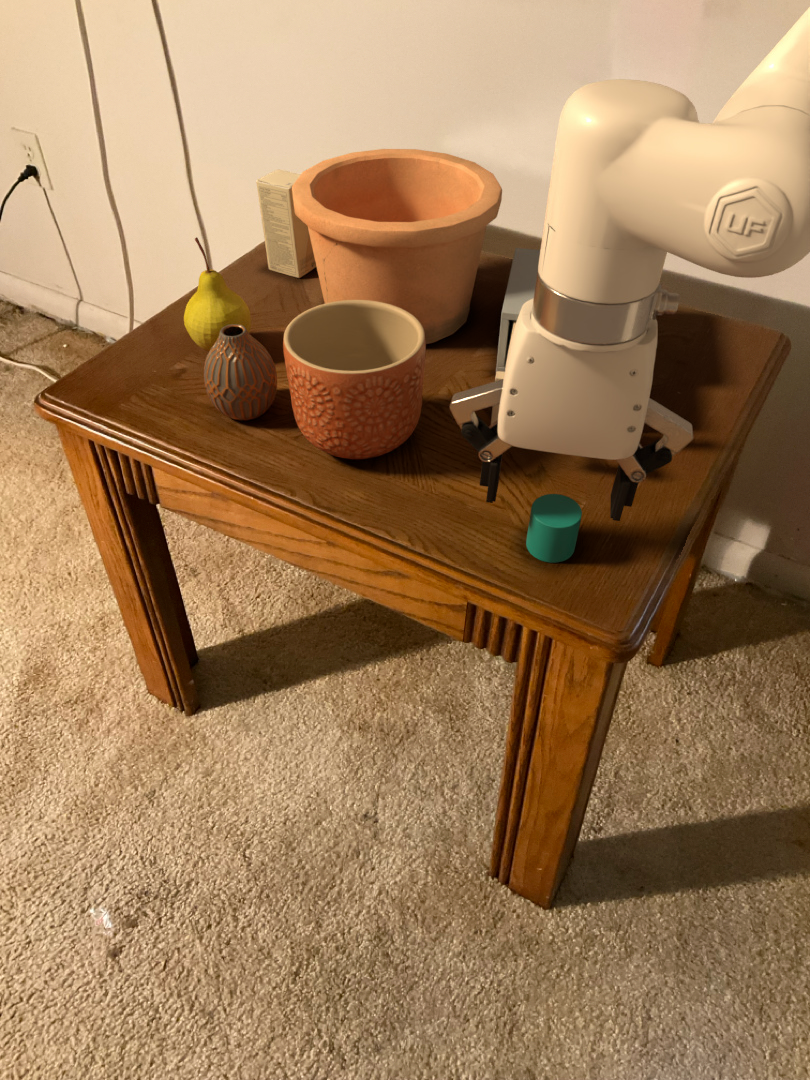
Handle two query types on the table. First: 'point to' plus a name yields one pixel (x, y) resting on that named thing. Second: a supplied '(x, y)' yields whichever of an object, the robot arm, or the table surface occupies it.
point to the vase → (240, 374)
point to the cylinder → (553, 528)
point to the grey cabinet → (516, 297)
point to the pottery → (399, 230)
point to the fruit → (213, 308)
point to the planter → (355, 376)
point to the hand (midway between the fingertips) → (553, 499)
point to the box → (284, 226)
